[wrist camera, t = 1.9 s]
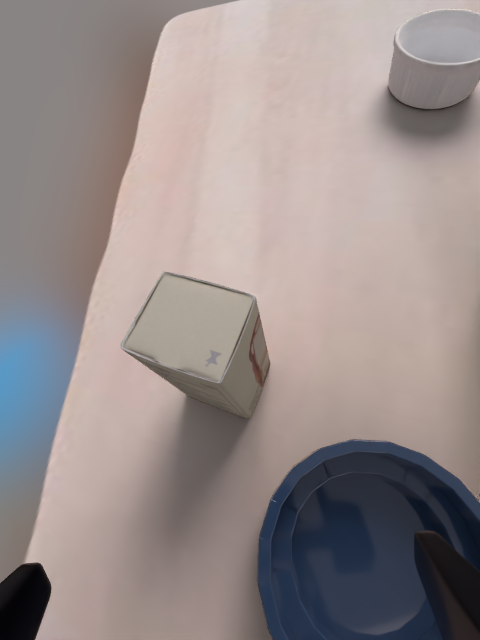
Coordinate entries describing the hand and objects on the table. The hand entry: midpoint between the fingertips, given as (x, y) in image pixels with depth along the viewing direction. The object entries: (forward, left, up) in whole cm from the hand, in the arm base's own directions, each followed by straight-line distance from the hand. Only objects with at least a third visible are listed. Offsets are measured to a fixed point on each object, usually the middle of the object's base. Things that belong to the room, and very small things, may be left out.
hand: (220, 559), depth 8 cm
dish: (0, -6, -13) cm, 15 cm away
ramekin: (+41, -3, -14) cm, 43 cm away
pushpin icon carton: (+6, +5, -14) cm, 16 cm away
